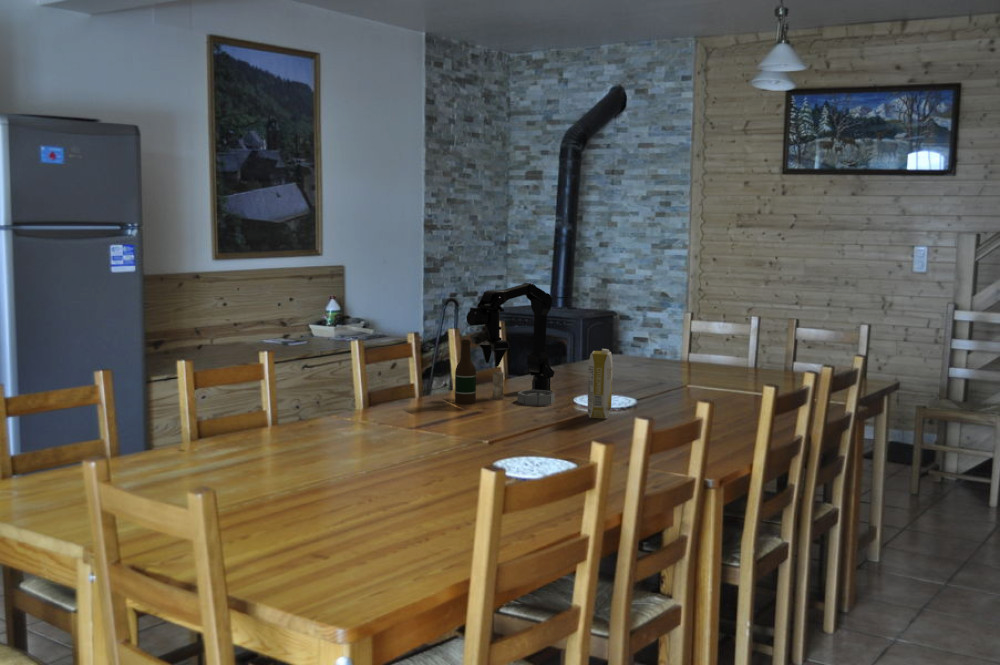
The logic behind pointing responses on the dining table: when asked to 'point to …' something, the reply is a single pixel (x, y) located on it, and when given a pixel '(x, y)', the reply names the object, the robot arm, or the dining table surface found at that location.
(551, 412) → the dining table surface
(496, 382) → the square wooden post
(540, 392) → the bowl
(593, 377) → the juice carton
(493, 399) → the coaster
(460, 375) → the beer bottle
